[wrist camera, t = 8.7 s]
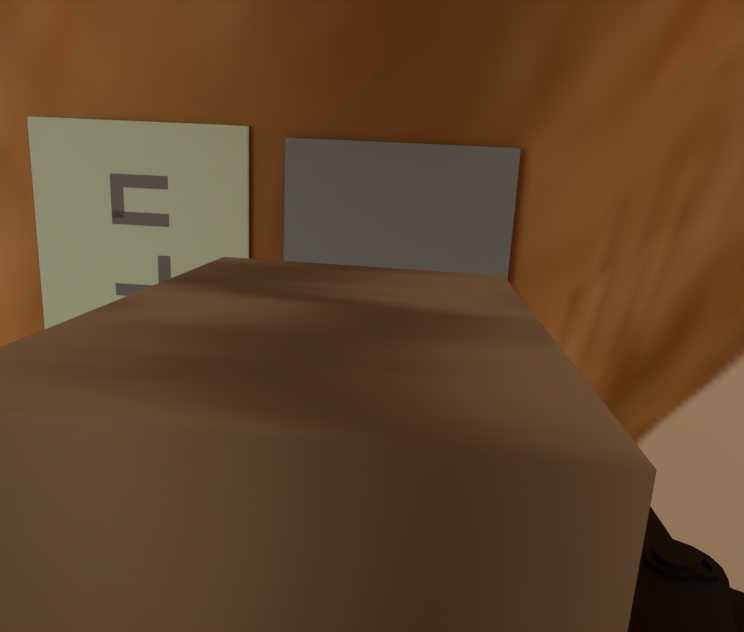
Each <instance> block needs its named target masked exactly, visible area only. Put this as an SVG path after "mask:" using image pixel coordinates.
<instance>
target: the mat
mask: <svg viewBox="0 0 744 632" xmlns="http://www.w3.org/2000/svg"><path fill="white" fill-rule="evenodd" d="M520 152H521V148H506V147H484V146H462V145H440V144H417V143H395V142H373V141H351V140H329V139H307V138H285V193H284V261H294V262H309V263H324V264H339V265H354V266H369V267H384V268H399V269H414V270H429V271H444V272H459V273H474V274H489V275H503V276H504V277H505V278H506V280H508V270H509V261H510V251H511V241H512V231H513V221H514V211H515V202H516V192H517V182H518V172H519V162H520Z"/></svg>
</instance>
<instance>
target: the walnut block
mask: <svg viewBox="0 0 744 632" xmlns="http://www.w3.org/2000/svg"><path fill="white" fill-rule="evenodd" d="M655 475H656V469H655V467H654V466H653V465H652V463H651V462H650V461H649V460H648V458H647V457H646V456H645V455H644V454H643V452H642V451H641V450H640V448H639V447H638V446H637V444H636V443H635V442H634V441H633V439H632V438H631V437H630V436H629V434H628V433H627V432H626V430H625V429H624V428H623V427H622V425H621V424H620V423H619V422H618V420H617V419H616V418H615V417H614V415H613V414H612V413H611V411H610V410H609V409H608V408H607V406H606V405H605V404H604V403H603V401H602V400H601V399H600V398H599V396H598V395H597V394H596V392H595V391H594V390H593V389H592V387H591V386H590V385H589V384H588V382H587V381H586V380H585V378H584V377H583V376H582V375H581V373H580V372H579V371H578V370H577V368H576V367H575V366H574V365H573V363H572V362H571V361H570V359H569V358H568V357H567V356H566V354H565V353H564V352H563V351H562V349H561V348H560V347H559V346H558V344H557V343H556V342H555V340H554V339H553V338H552V337H551V335H550V334H549V333H548V332H547V330H546V329H545V328H544V326H543V325H542V324H541V323H540V321H539V320H538V319H537V318H536V316H535V315H534V314H533V313H532V311H531V310H530V309H529V307H528V306H527V305H526V304H525V302H524V301H523V300H522V299H521V297H520V296H519V295H518V293H517V292H516V291H515V290H514V288H513V287H512V286H511V285H510V283H509V282H508V281H507V280H506V278H505V277H504V276H503V275H489V274H474V273H459V272H444V271H429V270H414V269H399V268H384V267H369V266H354V265H339V264H324V263H309V262H294V261H279V260H264V259H249V258H234V257H222V258H220V259H217V260H215V261H212V262H210V263H207V264H205V265H202V266H200V267H197V268H195V269H192V270H190V271H188V272H185V273H183V274H180V275H178V276H175V277H173V278H170V279H168V280H165V281H163V282H160V283H158V284H155V285H153V286H151V287H148V288H146V289H143V290H141V291H138V292H136V293H133V294H131V295H128V296H126V297H123V298H121V299H118V300H116V301H114V302H111V303H109V304H106V305H104V306H101V307H99V308H96V309H94V310H91V311H89V312H86V313H84V314H82V315H79V316H77V317H74V318H72V319H69V320H67V321H64V322H62V323H59V324H57V325H54V326H52V327H49V328H47V329H45V330H42V331H40V332H37V333H35V334H32V335H30V336H27V337H25V338H22V339H20V340H17V341H15V342H12V343H10V344H8V345H5V346H3V347H0V632H627V631H628V626H629V620H630V615H631V609H632V603H633V598H634V592H635V587H636V581H637V576H638V570H639V565H640V559H641V554H642V548H643V542H644V537H645V531H646V526H647V520H648V515H649V509H650V503H651V498H652V492H653V487H654V481H655Z"/></svg>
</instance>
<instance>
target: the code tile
mask: <svg viewBox="0 0 744 632" xmlns="http://www.w3.org/2000/svg"><path fill="white" fill-rule="evenodd" d="M27 121H28V133H29V145H30V157H31V169H32V181H33V193H34V205H35V217H36V229H37V241H38V252H39V264H40V276H41V288H42V300H43V312H44V324H45V329H47V328H49V327H52V326H54V325H57V324H59V323H62V322H64V321H67V320H69V319H72V318H74V317H77V316H79V315H82V314H84V313H86V312H89V311H91V310H94V309H96V308H99V307H101V306H104V305H106V304H109V303H111V302H114V301H116V300H118V299H121V298H123V297H126V296H128V295H131V294H133V293H136V292H138V291H141V290H143V289H146V288H148V287H151V286H153V285H155V284H158V283H160V282H163V281H165V280H168V279H170V278H173V277H175V276H178V275H180V274H183V273H185V272H188V271H190V270H192V269H195V268H197V267H200V266H202V265H205V264H207V263H210V262H212V261H215V260H217V259H220V258H222V257H234V258H249V126H236V125H214V124H191V123H168V122H145V121H123V120H100V119H77V118H54V117H32V116H27Z"/></svg>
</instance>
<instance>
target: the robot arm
mask: <svg viewBox="0 0 744 632" xmlns="http://www.w3.org/2000/svg"><path fill="white" fill-rule="evenodd" d="M627 632H744V593H743V592H740V591H737V590H734V589H732V588H730V586H729V581H728V578H727V576H726V574H725V572H724V571H723V568H722V567H721V566H720V565H719V564H718V563H716V562H715V561H714V560H713V559H712V558H711V557H710V556H708V555H707V554H705V553H703V552H701V551H700V550H698V549H696V548H694V547H693V546H690V545H688V544H685V543H682V542H679V541H676V540H674V539H672V538H671V536H670V534H669V533H668V531H667V530H666V529H665V527H664V526H663V524H662V523H661V521H660V520H659V518H658V517H657V515H656V514H655V512H654V511H653V509H652V508H651V507H650V509H649V515H648V520H647V526H646V531H645V537H644V542H643V548H642V554H641V559H640V565H639V570H638V576H637V581H636V587H635V592H634V598H633V603H632V609H631V615H630V620H629V626H628V631H627Z"/></svg>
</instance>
